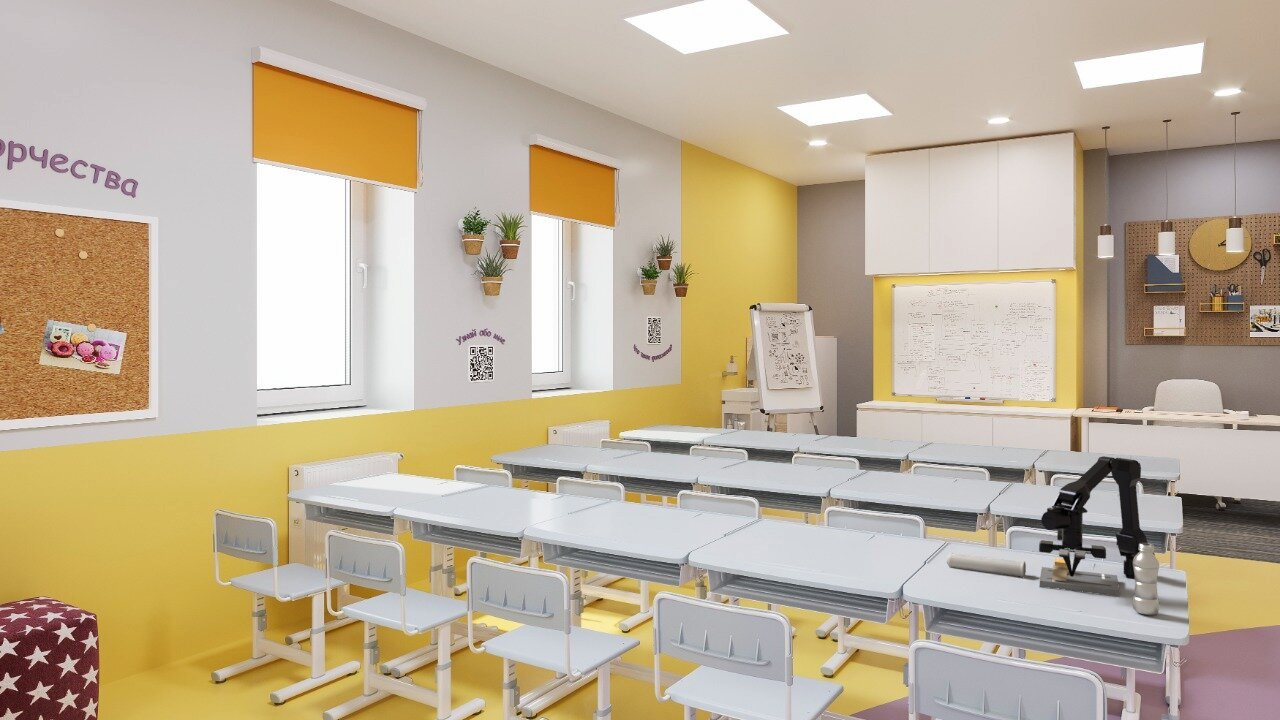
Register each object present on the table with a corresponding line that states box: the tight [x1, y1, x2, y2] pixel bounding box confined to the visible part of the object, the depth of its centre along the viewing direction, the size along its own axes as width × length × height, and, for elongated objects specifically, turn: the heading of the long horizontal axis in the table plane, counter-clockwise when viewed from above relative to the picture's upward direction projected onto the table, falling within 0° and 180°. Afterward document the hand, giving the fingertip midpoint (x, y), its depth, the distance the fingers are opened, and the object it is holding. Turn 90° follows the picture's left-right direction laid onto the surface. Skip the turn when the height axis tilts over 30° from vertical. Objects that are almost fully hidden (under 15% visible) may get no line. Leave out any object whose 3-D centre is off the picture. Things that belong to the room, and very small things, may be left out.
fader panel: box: [1039, 566, 1120, 597], centre depth 268 cm, size 22×18×2 cm
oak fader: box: [1052, 564, 1067, 582], centre depth 266 cm, size 4×5×4 cm
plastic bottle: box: [1132, 542, 1161, 616], centre depth 239 cm, size 6×7×20 cm
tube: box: [946, 552, 1027, 578], centre depth 284 cm, size 5×5×25 cm
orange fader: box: [1054, 557, 1068, 574], centre depth 275 cm, size 4×5×4 cm
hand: (1071, 576), depth 264 cm, fingers closed
